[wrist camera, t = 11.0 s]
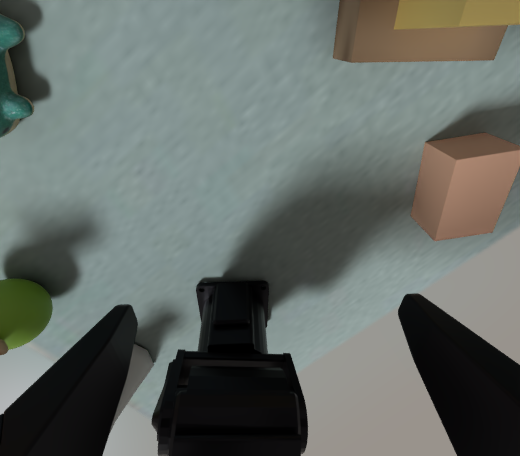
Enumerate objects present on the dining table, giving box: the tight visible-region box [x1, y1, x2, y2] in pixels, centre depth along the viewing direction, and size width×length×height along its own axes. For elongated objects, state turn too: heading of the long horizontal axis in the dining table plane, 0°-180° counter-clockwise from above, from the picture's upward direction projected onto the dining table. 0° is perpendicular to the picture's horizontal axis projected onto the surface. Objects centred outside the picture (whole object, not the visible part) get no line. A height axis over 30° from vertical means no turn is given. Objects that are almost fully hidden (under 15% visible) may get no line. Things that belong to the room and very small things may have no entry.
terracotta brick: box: [411, 133, 520, 241], centre depth 19 cm, size 6×4×4 cm, turn 8°
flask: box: [110, 344, 154, 431], centre depth 27 cm, size 7×7×10 cm
